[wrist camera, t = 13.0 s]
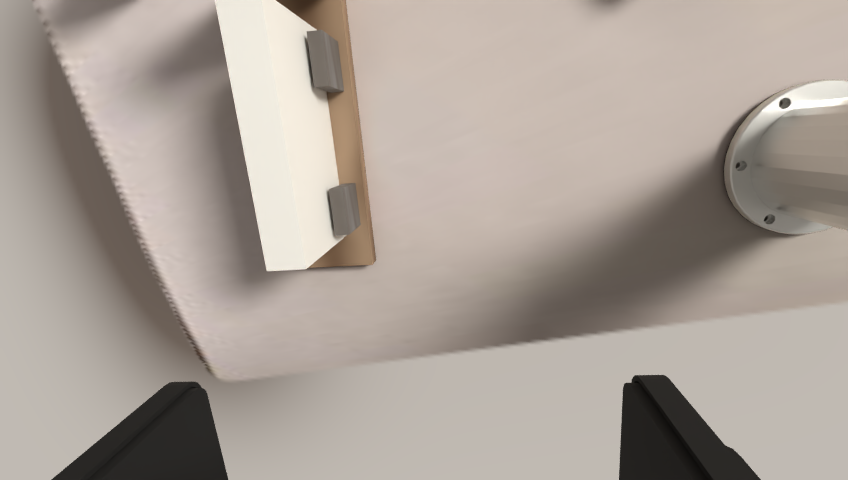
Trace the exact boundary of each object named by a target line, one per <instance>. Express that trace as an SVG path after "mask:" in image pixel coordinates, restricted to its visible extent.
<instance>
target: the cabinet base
mask: <svg viewBox="0 0 848 480" xmlns="http://www.w3.org/2000/svg"><path fill="white" fill-rule="evenodd" d="M276 1H277V2H279V3H280V4H281V5H283V6H284V7H286V8H287V9H288V10H290V11H291V12H293V13H294V14H295V15H297V16H298V17H299V18H301V19H302V20H304V21H305V22H306V23H308V24H309V25H311V26H312V27H313V28H315V29H316V30H315V31H306V32H307V39H308V46H309V53H310V60H311V67H312V74H313V81H314V87H315V88H318V89H321V90H324V91H326V92H327V99H328V107H329V114H330V121H331V128H332V136H333V143H334V150H335V158H336V165H337V172H338V179H339V185H338V186H336V187H333V188H330V189H329V195H330V202H331V209H332V216H333V223H334V231H335V236H339V235H346V236H345V237H344V238H343V239H342V240H341V241H339V242H338V243H337V244H336V245H335V246H333V247H332V248H331V249H330V250H329V251H327V252H326V253H325V254H324V255H323V256H321V257H320V258H319V259H318V260H317V261H315V262H314V263H313V264H312V265H311V266H309V267H308V268H314V267H334V266H355V265H373V263H374V262H375V261H376V256H375V247H374V239H373V230H372V222H371V213H370V205H369V196H368V187H367V179H366V170H365V162H364V153H363V145H362V136H361V128H360V119H359V111H358V102H357V93H356V85H355V76H354V68H353V59H352V51H351V42H350V34H349V25H348V16H347V8H346V0H276Z"/></svg>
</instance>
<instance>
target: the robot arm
mask: <svg viewBox="0 0 848 480" xmlns="http://www.w3.org/2000/svg"><path fill="white" fill-rule="evenodd" d="M736 163H737V166H736ZM735 166H736V167H735ZM724 179H725V186H726V189H727V193H728V196H729V198H730V200H731V201H732V203H733V205H734V207H735V208H736V209H737V210H738V211H739V212H740V214H741V215H742V216H743V217H745V218H746V219H748V220H749V221H750V222H752V223H753V224H755V225H758V226H760V227H762V228H765V229H768V230H771V231H775V232H778V233H785V234H793V235H795V234H810V233H815V232H820V231H824V230H827V229H830V228H832V227H836V228H840V229H844V230H848V81H846V80H819V81H812V82H807V83H803V84H799V85H796V86H792V87H790V88H787V89H785V90H783V91H781V92H779V93H776V94H775V95H773V96H772V97H770V98H769V99H767V100H766V101H764V102H763V103H761V104H760V105H759V106H758V107H757V108H756V109H755V110H753V111H752V112H751V113H750V114H749V115H748V116H747V118H746V119H745V120H744V121H743V123H742V124H741V125H740V126H739V128H738V130H737V131H736V133H735V135H734V137H733V138H732V140H731V143H730V146H729V148H728V151H727V154H726V159H725V166H724ZM621 426H622V427H621V448H620V449H621V450H620V470H619V480H761V479H760V478H759V477H758V476H757V475H756V474H755V473H754V471H753V470H752V469H751V468H750V467H749V466H748V464H747V463H746V462H745V461H744V460H743V459H742V457H741V456H739V455H738V453H736V452H735V451H734V450H733V449H732V448H730V447H727V446H725V445H724V444H723V443H722V441H721V440H720V439H719V438H718V436H717V435H716V434H715V433H714V432H713V431H712V429H711V428H710V427H709V426H708V425H707V423H706V422H705V421H704V420H703V419H702V418H701V416H700V415H699V414H698V413H697V412H696V410H695V409H694V408H693V407H692V406H691V404H690V403H689V402H688V401H687V400H686V398H685V397H684V396H683V395H682V394H681V392H680V391H679V390H678V389H677V388H676V387H675V385H674V384H673V383H672V382H671V381H670V379H669V378H668V377H666V376H664V375H635V376H634V377H633V379H632V383H625V384H624V387H623V403H622V425H621ZM52 480H228V477H227V473H226V469H225V465H224V461H223V456H222V453H221V448H220V444H219V441H218V436H217V432H216V429H215V424H214V420H213V416H212V412H211V408H210V404H209V400H208V396H207V393H206V391H205V390H204V389H203V388H201V386H200V385H199V384H198V383H197V382H171V383H168V384H167V385H165V386H164V387H163V388H161V389H160V390H159V391H158V392H157V393H156V394H154V395H153V396H152V397H151V398H149V399H148V400H147V401H146V402H145V403H143V404H142V405H141V406H140V407H139V408H137V409H136V410H135V411H134V412H133V413H131V414H130V415H129V416H128V417H126V419H124V420H123V421H122V422H120V424H118V425H117V426H116V427H114V428H113V429H112V430H111V431H110V432H108V433H107V434H106V435H105V436H104V437H102V438H101V439H100V440H99V441H98V442H96V443H95V444H94V445H93V446H91V447H90V448H89V449H88V450H87V451H86V452H84V453H83V454H82V455H81V456H79V457H78V458H77V459H76V460H75V461H73V462H72V463H71V464H70V465H69V466H67V467H66V468H65V469H64V470H63V471H61V472H60V473H59V474H58V475H57V476H55V477H54V478H53V479H52Z"/></svg>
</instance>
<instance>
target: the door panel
mask: <svg viewBox="0 0 848 480" xmlns="http://www.w3.org/2000/svg"><path fill="white" fill-rule="evenodd" d="M215 4H216V9H217V15H218V20H219V25H220V30H221V35H222V41H223V46H224V51H225V56H226V61H227V67H228V72H229V77H230V82H231V88H232V93H233V98H234V103H235V108H236V114H237V119H238V124H239V129H240V134H241V140H242V145H243V150H244V155H245V161H246V166H247V171H248V176H249V181H250V187H251V192H252V197H253V202H254V207H255V213H256V218H257V223H258V228H259V234H260V239H261V244H262V249H263V254H264V260H265V265H266V270H267V271H282V270H301V269H307V268H308V267H309V266H311V265H312V264H313V263H314V262H315V261H317V260H318V259H319V258H320V257H321V256H323V255H324V254H325V253H326V252H327V251H329V250H330V249H331V248H332V247H333V246H335V245H336V244H337V243H338V242H339V241H341V240H342V239H343V238H344V237H345V236H346V235H339V236H335V231H334V223H333V216H332V209H331V202H330V195H329V189H330V188H333V187H336V186H338V185H339V179H338V172H337V165H336V158H335V150H334V143H333V136H332V128H331V121H330V114H329V107H328V99H327V92H326V91H324V90H321V89H318V88H315V87H314V81H313V74H312V67H311V60H310V53H309V46H308V39H307V32H306V31H315V30H316V29H315V28H313V27H312V26H311V25H309V24H308V23H306V22H305V21H304V20H302V19H301V18H299V17H298V16H297V15H295V14H294V13H293V12H291V11H290V10H288V9H287V8H286V7H284V6H283V5H281V4H280V3H279V2H277V1H276V0H215Z"/></svg>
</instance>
